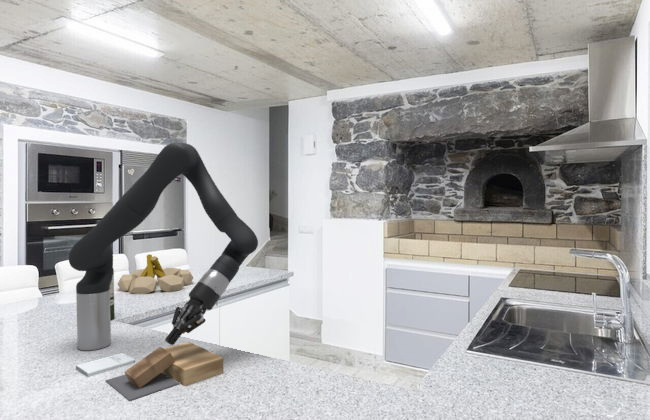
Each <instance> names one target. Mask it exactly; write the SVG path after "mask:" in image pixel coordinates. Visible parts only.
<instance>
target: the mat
mask: <svg viewBox="0 0 650 420" xmlns="http://www.w3.org/2000/svg"><path fill="white" fill-rule="evenodd" d="M105 383H107V384H108V385H110V387H112V388H113V390H114V389H115V390H116V391H117V392H118V393H119V394H120V395H121V396H122V397H124V398H125V399H126V400H127V401H129V402H131V401H134V400H137V399H141V398H142V397H143V398H144V397H146V396H149V395H151V394H154V393H157V392H161V391H163V390H167V389H170V388H173V387H175V386H177V385H178V386H179V385H180V383H179V382H177V381H176V380H174V379H173V378H171V377H169V376H168V375H166V374H165V373H163V372H161V373H160V374H158V375H157V376H156V377H154V378H153V379H152V380H150V381H149V382H148V383H146V384H145V385H144V386H142V387H141V388H140V389H139V388H138V387H136V386H135V385H134V384H132V383H131V382H130V381H129V380H128V378H127V376H126V374H125V373H124V374H123V375H119V376H115V377H112V378H110V379H109V378H108V379H105Z"/></svg>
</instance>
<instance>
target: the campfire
mask: <svg viewBox="0 0 650 420" xmlns="http://www.w3.org/2000/svg"><path fill="white" fill-rule="evenodd" d="M155 276H156V279H155ZM193 280H194V276H193V274H192V273H191V272H190V270H189V269H181V268H177V267H176V268H175V267H165V268H163V267H162V265H161V263H160V261H159V258H158V257H157V256H156V255H154V256H153V255H152V254H150V253H149V254H147V255H146V267H145V268H141V269H137V270H135V271H133V272H131V274H130V273H129V274H121V277H120V279H119V280H118V282H117V284H116V285H117V287H118V288H119V289H120V290H121V292H128V293H130V294H135V295H143V294H144V295H147V294H150V293H152V292H153V291H156V290H157V287H158V286H159V290H161V291H163V292H166V293H172V292H177V291H181V290H182V288H184V286H190V285H191V284H192V281H193ZM157 285H158V286H157Z"/></svg>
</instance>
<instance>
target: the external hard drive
mask: <svg viewBox="0 0 650 420" xmlns="http://www.w3.org/2000/svg"><path fill="white" fill-rule="evenodd" d="M132 363H133V364H136V360H135V358H133V357H131V356H129V355H127V354H125V353H124V352H121V353H117V354H114V355H111V356H110V355H109V356H106V357H103V358H99V359H95V360H91V361H88V362H83V363H81V364H77V365H75V370H77V371H78V372H80V373H81V374H82V375H83V376H85V377H87V378H89V377H94V376H96V375H101V374H102V373H106V371H107V372H109V371H113V370H116V369H120V368H123V367H126V366H130V365H132ZM129 364H130V365H129ZM122 366H123V367H122ZM119 367H120V368H119Z"/></svg>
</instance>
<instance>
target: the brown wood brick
mask: <svg viewBox="0 0 650 420" xmlns="http://www.w3.org/2000/svg"><path fill="white" fill-rule="evenodd" d="M174 362H175V361H174V359H173V357H172V355H171V353H170V352H169V351H167V350H165V349H164V348H162V347H161V346H159V347H157V348H156V349H154V350H152V352H150V353H149V354H148V355H146V356H145V357H143V358H142V359H141V360H139V361H137V362H135V363H134V364H133V365H132V366H130V367H129V368H128V369H126V370H125V371H124V375H125V374H126V376H127V378H128V380H129V381H130V382H131V383H132V384H134V385H135V386H136V387H138V388H139V389H140V388H141V387H142V386H144V385H145V384H146V383H148V382H149V381H150V380H152V379H153V378H154V377H156V376H157V375H158V374H160V373H161V372H162V371H164V370H165V369H166V368H168V367H169V366H170V365H172V364H173V363H174ZM162 373H163V372H162Z"/></svg>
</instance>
